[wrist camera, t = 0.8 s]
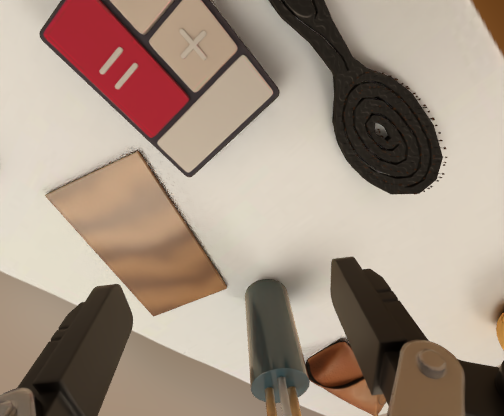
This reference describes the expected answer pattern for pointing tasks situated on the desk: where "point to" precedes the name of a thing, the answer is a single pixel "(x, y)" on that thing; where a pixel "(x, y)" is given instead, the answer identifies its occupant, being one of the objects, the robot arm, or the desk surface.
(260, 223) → the desk surface
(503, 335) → the stress ball
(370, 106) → the hairbrush
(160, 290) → the brown wooden board
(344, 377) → the sunglasses case
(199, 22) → the calculator
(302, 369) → the cutlery holder
